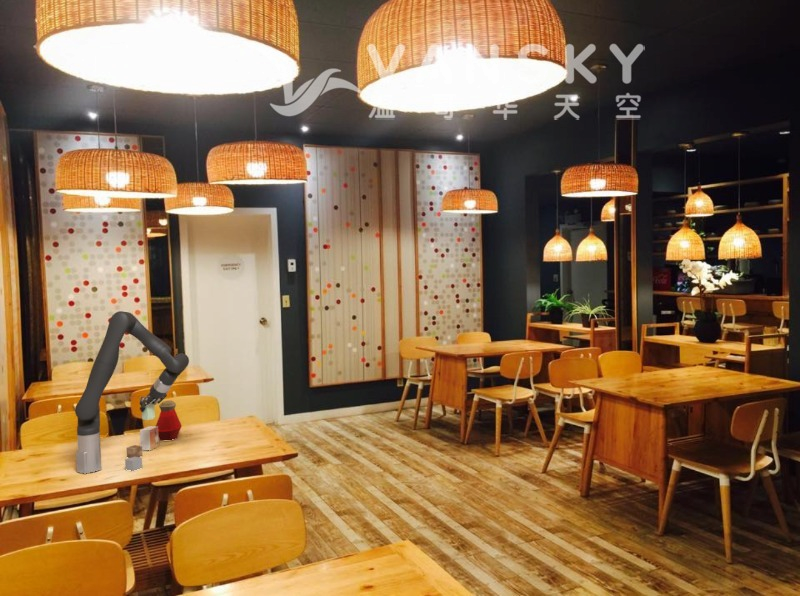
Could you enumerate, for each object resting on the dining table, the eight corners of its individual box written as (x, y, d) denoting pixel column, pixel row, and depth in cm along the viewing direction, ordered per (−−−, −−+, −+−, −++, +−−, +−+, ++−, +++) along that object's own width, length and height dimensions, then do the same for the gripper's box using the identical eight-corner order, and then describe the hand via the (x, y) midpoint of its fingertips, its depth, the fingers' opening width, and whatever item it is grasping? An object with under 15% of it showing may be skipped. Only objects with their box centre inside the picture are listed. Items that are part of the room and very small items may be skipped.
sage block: (147, 420, 299) (147, 405, 299) (142, 419, 301) (141, 404, 301) (154, 418, 303) (154, 403, 302) (149, 417, 305) (148, 402, 304)
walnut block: (133, 459, 305) (133, 448, 305) (126, 457, 308) (126, 447, 307) (142, 456, 310) (142, 446, 309) (135, 454, 312) (135, 444, 312)
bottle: (162, 434, 348) (160, 398, 347) (186, 434, 348) (185, 398, 346) (149, 442, 332) (148, 405, 331) (175, 442, 332) (173, 404, 331)
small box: (150, 451, 318) (149, 430, 317) (140, 450, 319) (139, 430, 318) (159, 446, 326) (158, 426, 325) (149, 446, 327) (148, 425, 326)
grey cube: (132, 471, 286) (132, 461, 286) (125, 470, 288) (125, 459, 288) (142, 468, 290) (141, 457, 290) (135, 467, 293) (134, 456, 293)
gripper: (169, 377, 304) (153, 400, 310) (144, 382, 291) (128, 406, 298) (177, 389, 301) (161, 412, 308) (153, 395, 289) (136, 418, 295)
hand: (145, 409), depth 303 cm, fingers closed on sage block, 4 cm apart
